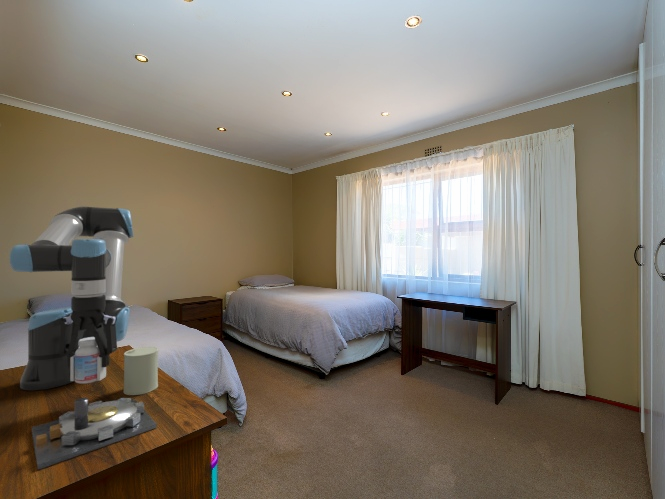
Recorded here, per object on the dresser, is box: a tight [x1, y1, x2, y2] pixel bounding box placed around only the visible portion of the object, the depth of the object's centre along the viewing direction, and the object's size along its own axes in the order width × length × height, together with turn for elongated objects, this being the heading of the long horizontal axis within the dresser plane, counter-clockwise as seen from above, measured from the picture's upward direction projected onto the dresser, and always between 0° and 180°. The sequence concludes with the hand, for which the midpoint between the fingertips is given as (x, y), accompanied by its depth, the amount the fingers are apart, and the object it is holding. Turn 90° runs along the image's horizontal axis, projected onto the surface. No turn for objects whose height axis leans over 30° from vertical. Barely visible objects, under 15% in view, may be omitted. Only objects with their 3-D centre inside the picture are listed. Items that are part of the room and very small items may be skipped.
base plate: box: [31, 398, 158, 471], centre depth 76 cm, size 19×21×2 cm
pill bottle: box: [74, 337, 100, 385], centre depth 89 cm, size 6×6×11 cm
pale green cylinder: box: [123, 346, 159, 396], centre depth 99 cm, size 9×9×12 cm
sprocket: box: [50, 397, 145, 445], centre depth 77 cm, size 18×18×8 cm
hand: (88, 378), depth 89 cm, fingers closed on pill bottle, 6 cm apart
